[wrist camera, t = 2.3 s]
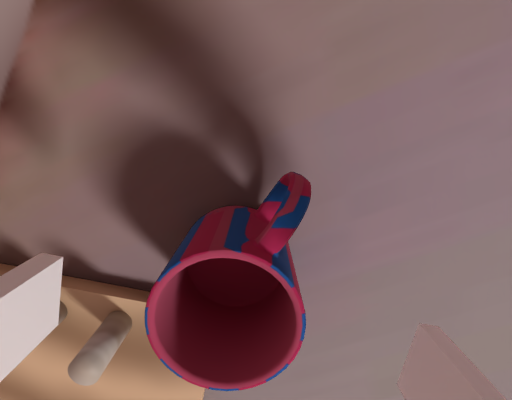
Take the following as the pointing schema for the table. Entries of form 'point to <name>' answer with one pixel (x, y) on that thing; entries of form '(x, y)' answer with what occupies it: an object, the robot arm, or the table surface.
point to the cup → (233, 294)
